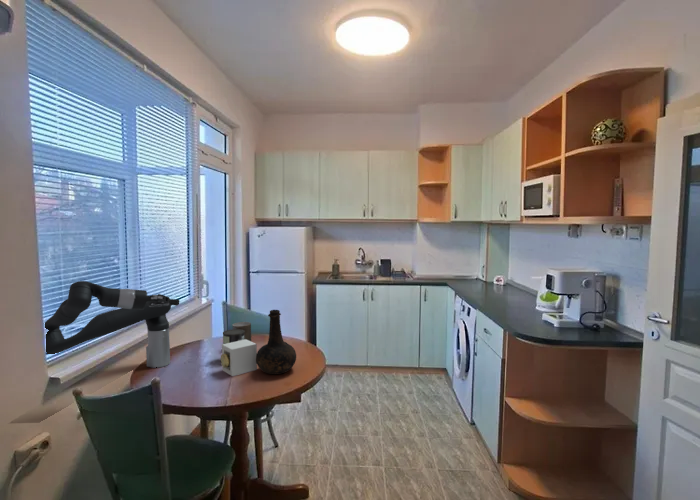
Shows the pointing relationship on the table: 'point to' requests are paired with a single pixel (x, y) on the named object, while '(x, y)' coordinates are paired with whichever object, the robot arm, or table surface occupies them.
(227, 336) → the coffee can
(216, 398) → the table surface
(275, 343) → the antique onion bottle
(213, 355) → the table surface
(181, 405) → the table surface
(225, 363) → the plunger
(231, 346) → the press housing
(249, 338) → the pillar candle
